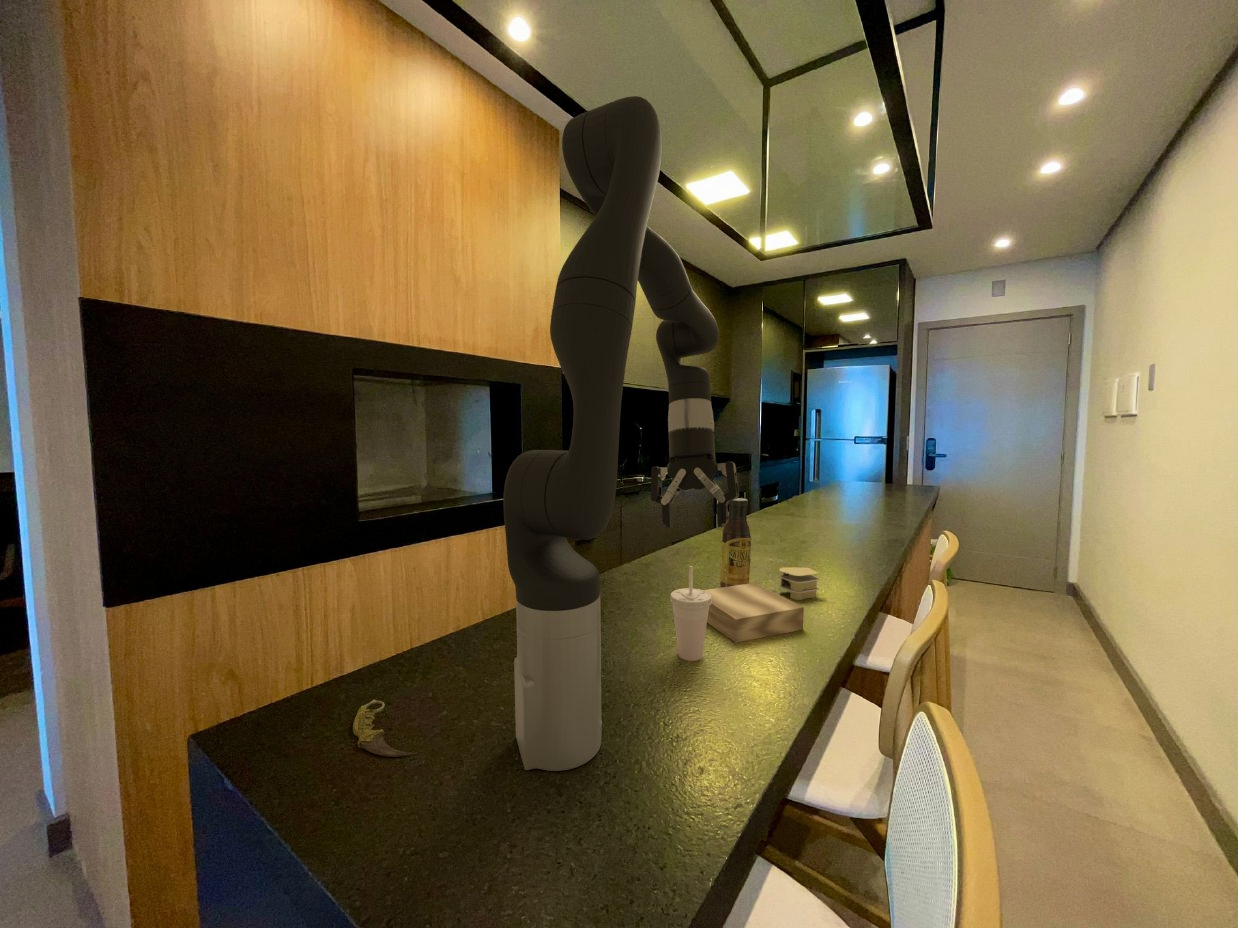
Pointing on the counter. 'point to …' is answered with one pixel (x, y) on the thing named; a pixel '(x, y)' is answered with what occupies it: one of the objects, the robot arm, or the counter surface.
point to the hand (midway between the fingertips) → (695, 527)
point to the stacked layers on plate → (799, 582)
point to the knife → (373, 733)
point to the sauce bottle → (736, 546)
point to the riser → (752, 612)
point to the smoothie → (690, 619)
